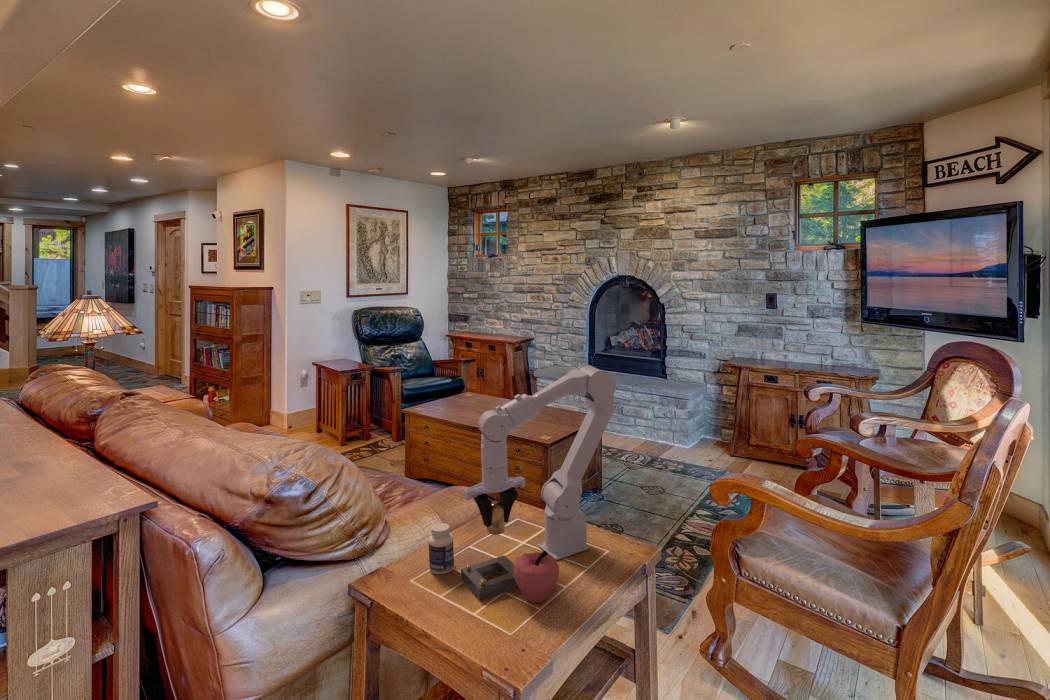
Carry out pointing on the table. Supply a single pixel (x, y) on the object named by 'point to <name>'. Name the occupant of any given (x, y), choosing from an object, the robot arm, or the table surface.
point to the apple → (536, 575)
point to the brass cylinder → (496, 518)
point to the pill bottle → (441, 549)
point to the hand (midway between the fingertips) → (495, 522)
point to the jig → (477, 572)
